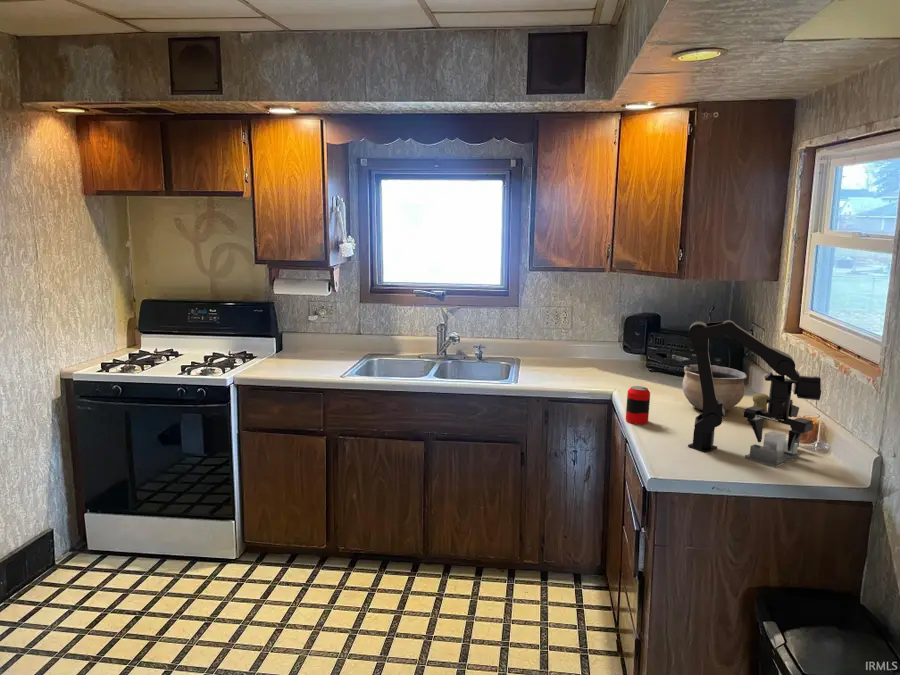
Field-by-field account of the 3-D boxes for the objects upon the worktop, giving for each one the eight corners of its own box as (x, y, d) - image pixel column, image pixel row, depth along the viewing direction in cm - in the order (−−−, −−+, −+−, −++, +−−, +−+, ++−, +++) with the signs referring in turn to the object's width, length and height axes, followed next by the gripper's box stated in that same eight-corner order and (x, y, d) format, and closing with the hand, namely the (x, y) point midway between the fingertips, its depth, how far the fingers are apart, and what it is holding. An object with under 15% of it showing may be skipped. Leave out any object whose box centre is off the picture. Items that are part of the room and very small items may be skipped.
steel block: (775, 458, 202) (777, 437, 201) (762, 454, 205) (764, 433, 204) (783, 455, 205) (786, 434, 204) (771, 451, 208) (773, 430, 207)
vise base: (774, 467, 197) (775, 454, 196) (744, 458, 204) (746, 445, 203) (799, 457, 206) (801, 444, 205) (770, 448, 213) (772, 436, 212)
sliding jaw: (792, 454, 205) (794, 441, 204) (769, 447, 210) (771, 435, 209) (807, 448, 210) (809, 435, 209) (785, 442, 216) (786, 429, 215)
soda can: (647, 425, 233) (650, 391, 231) (624, 423, 235) (627, 389, 233) (648, 419, 240) (650, 386, 238) (626, 417, 242) (628, 384, 240)
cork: (751, 420, 241) (754, 390, 239) (769, 424, 237) (773, 393, 235) (746, 424, 237) (749, 394, 235) (764, 428, 233) (768, 397, 231)
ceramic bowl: (680, 398, 268) (683, 361, 265) (739, 404, 262) (743, 366, 259) (680, 414, 247) (684, 374, 244) (745, 421, 241) (750, 379, 238)
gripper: (825, 399, 199) (818, 450, 202) (763, 385, 214) (758, 433, 216) (806, 405, 192) (800, 457, 195) (744, 390, 207) (739, 439, 210)
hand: (774, 446), depth 204 cm, fingers open, 9 cm apart
